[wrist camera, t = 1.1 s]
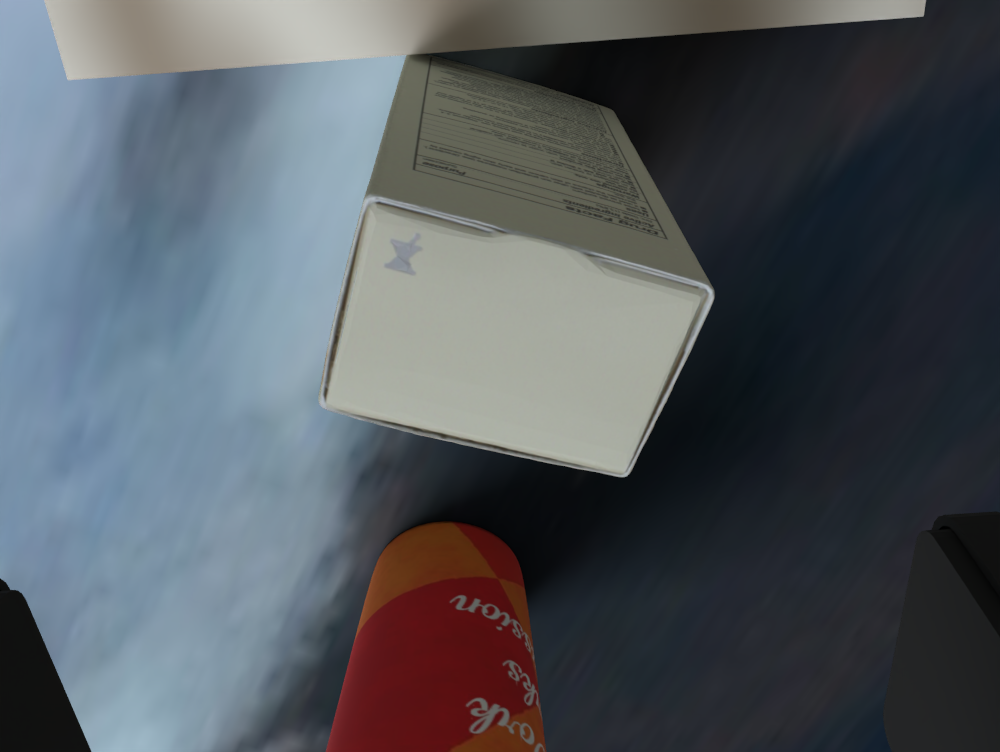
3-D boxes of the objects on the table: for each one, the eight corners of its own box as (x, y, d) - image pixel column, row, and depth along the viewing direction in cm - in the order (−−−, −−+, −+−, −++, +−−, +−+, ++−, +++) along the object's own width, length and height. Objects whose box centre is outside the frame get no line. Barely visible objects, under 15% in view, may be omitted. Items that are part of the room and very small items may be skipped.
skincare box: (372, 191, 27) (293, 411, 16) (407, 42, 25) (343, 183, 14) (579, 249, 28) (631, 493, 17) (630, 111, 26) (724, 291, 15)
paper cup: (558, 645, 36) (590, 1047, 24) (364, 660, 36) (299, 1065, 24) (542, 484, 32) (571, 866, 20) (326, 502, 33) (226, 889, 20)
